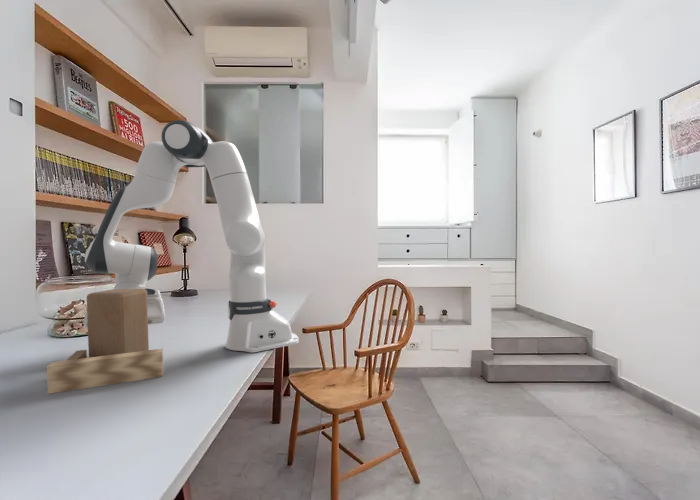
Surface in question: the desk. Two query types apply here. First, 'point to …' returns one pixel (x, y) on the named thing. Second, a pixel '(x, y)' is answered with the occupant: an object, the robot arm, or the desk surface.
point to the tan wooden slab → (103, 369)
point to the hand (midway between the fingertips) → (124, 337)
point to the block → (117, 322)
